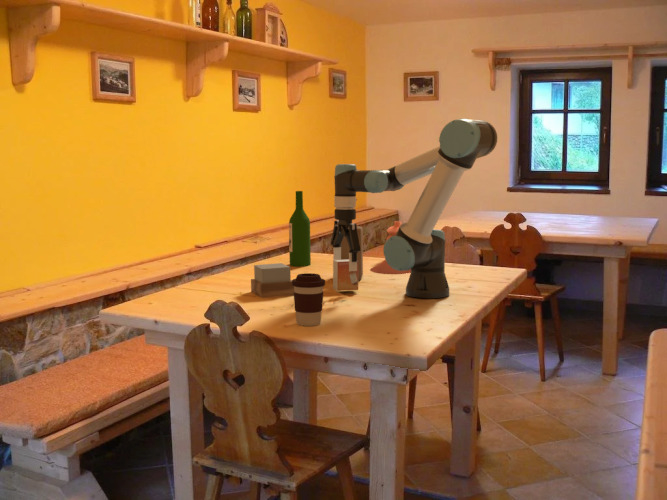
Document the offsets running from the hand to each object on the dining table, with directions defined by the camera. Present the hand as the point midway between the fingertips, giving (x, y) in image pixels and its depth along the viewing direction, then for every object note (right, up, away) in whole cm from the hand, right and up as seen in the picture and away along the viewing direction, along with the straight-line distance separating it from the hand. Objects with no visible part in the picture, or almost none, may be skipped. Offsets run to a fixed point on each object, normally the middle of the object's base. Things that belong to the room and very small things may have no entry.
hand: (344, 268), depth 261 cm
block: (+2, -5, +24) cm, 25 cm away
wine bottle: (-18, -1, +53) cm, 56 cm away
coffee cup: (-12, -16, -40) cm, 44 cm away
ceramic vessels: (+22, -2, +48) cm, 52 cm away
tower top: (-25, -4, -7) cm, 26 cm away
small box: (0, -8, +1) cm, 8 cm away
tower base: (-25, -9, -6) cm, 27 cm away
